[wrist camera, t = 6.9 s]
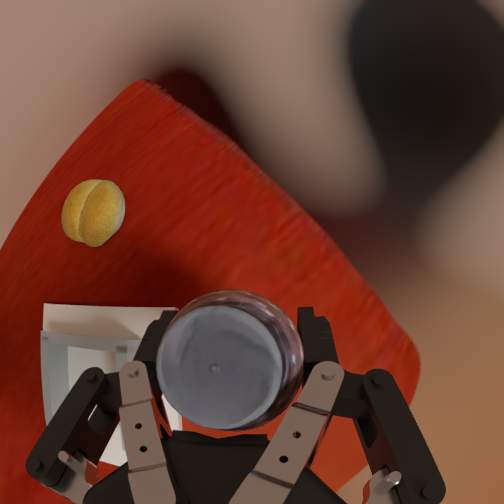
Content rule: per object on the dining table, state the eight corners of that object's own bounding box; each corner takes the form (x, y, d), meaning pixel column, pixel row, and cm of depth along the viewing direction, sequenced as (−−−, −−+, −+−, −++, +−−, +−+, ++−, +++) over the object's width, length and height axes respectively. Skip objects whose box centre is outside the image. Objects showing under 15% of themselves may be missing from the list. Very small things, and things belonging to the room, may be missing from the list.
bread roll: (113, 255, 31) (94, 244, 27) (64, 237, 32) (45, 226, 29) (139, 190, 33) (124, 173, 29) (88, 181, 34) (72, 166, 31)
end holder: (186, 475, 23) (172, 493, 19) (56, 441, 25) (33, 448, 20) (178, 308, 28) (161, 302, 24) (49, 304, 30) (24, 298, 25)
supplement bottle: (202, 390, 18) (122, 437, 8) (208, 306, 20) (133, 266, 9) (290, 397, 18) (305, 463, 7) (295, 311, 20) (317, 274, 9)
